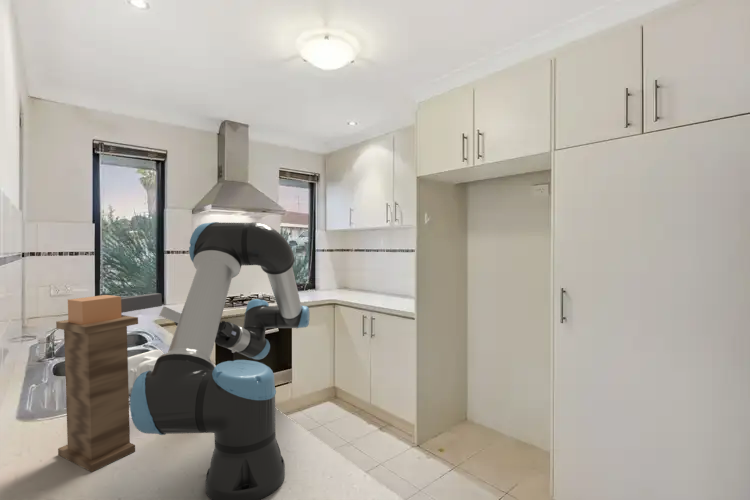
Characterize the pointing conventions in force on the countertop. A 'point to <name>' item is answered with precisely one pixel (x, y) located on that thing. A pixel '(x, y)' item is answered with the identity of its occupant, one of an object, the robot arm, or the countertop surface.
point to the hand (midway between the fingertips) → (177, 313)
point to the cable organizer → (141, 365)
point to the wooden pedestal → (97, 392)
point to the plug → (108, 307)
